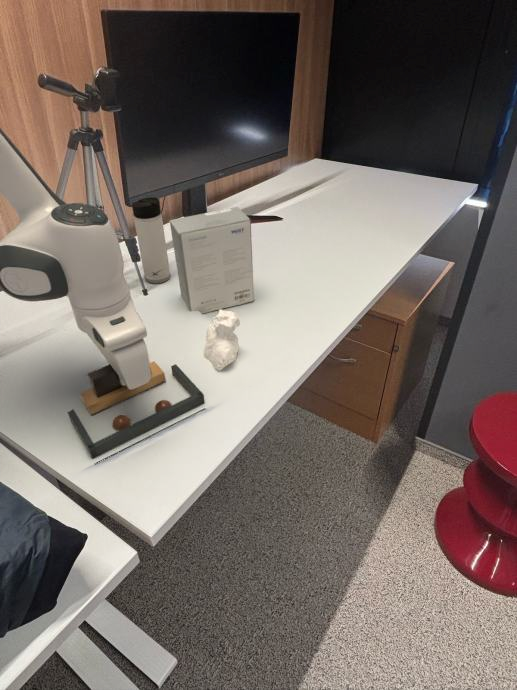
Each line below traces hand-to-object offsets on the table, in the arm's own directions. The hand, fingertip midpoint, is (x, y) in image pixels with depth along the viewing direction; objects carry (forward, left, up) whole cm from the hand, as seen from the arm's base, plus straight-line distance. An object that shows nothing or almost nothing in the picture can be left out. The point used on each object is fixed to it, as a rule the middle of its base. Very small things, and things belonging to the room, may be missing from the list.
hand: (121, 376), depth 83 cm
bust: (+20, -1, -5) cm, 21 cm away
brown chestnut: (-4, -7, -4) cm, 8 cm away
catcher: (0, -6, -5) cm, 8 cm away
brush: (0, 0, -5) cm, 5 cm away
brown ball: (+4, -8, -4) cm, 9 cm away
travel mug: (+24, +35, -5) cm, 43 cm away
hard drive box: (+30, +17, -5) cm, 35 cm away
